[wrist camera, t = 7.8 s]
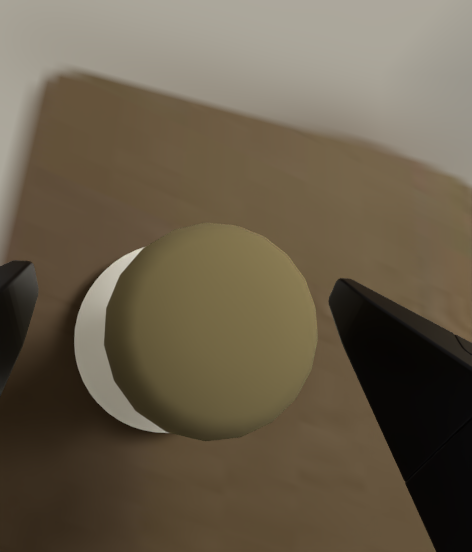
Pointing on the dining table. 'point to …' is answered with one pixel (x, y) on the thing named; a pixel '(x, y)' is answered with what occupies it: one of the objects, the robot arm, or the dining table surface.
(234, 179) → the dining table surface
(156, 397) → the cork
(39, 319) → the dining table surface
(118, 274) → the coaster
